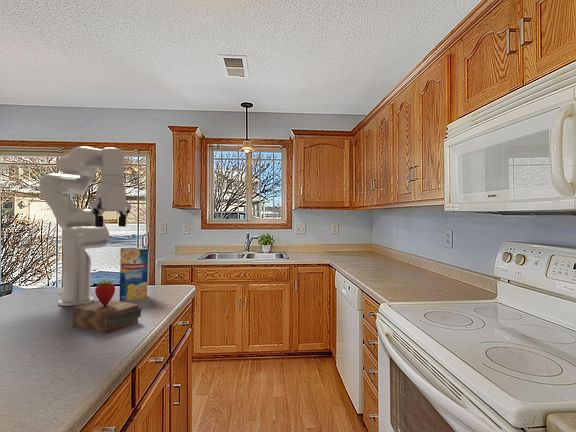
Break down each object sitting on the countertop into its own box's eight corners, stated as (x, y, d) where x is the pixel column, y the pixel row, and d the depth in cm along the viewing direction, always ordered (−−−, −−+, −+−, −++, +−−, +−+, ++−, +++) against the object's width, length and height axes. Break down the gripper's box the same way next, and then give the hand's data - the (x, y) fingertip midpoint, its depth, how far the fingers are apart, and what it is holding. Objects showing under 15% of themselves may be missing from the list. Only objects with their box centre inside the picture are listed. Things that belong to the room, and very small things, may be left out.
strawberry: (115, 301, 114) (114, 273, 114) (115, 307, 108) (114, 277, 108) (96, 304, 112) (95, 275, 112) (95, 310, 105) (94, 279, 105)
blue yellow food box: (147, 298, 144) (148, 248, 144) (119, 301, 139) (120, 249, 139) (146, 295, 150) (147, 247, 150) (119, 297, 145) (120, 248, 145)
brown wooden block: (72, 325, 107) (73, 307, 107) (105, 315, 118) (105, 299, 118) (109, 333, 101) (109, 314, 101) (140, 322, 112) (141, 305, 112)
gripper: (124, 183, 132) (123, 226, 132) (83, 178, 116) (82, 226, 116) (138, 183, 129) (137, 226, 129) (97, 178, 113) (96, 227, 113)
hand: (111, 226), depth 122 cm, fingers open, 9 cm apart
